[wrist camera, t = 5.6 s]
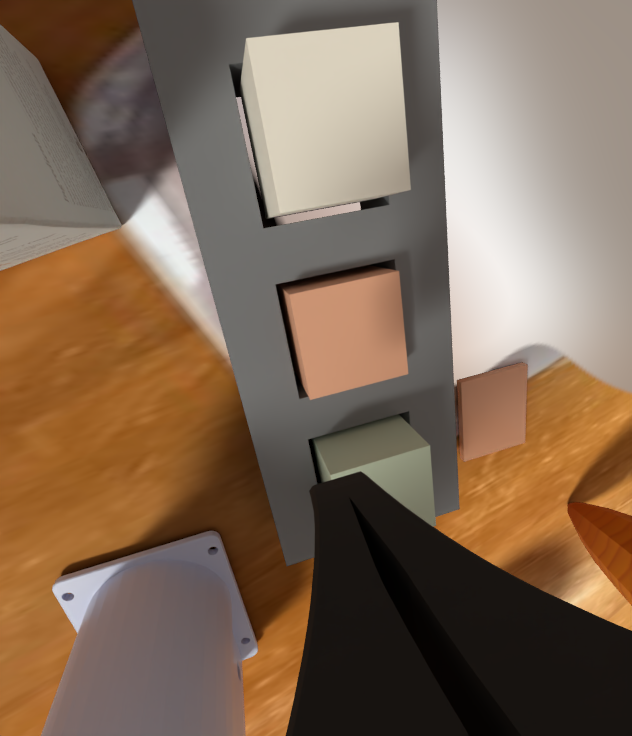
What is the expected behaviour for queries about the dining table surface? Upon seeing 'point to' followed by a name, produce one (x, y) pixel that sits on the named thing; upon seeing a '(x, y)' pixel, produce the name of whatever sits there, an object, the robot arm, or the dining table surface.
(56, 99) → the small box
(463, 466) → the dining table surface
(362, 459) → the key sage
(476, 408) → the tile
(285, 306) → the key terracotta
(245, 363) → the keypad
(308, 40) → the key cream
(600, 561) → the carrot
